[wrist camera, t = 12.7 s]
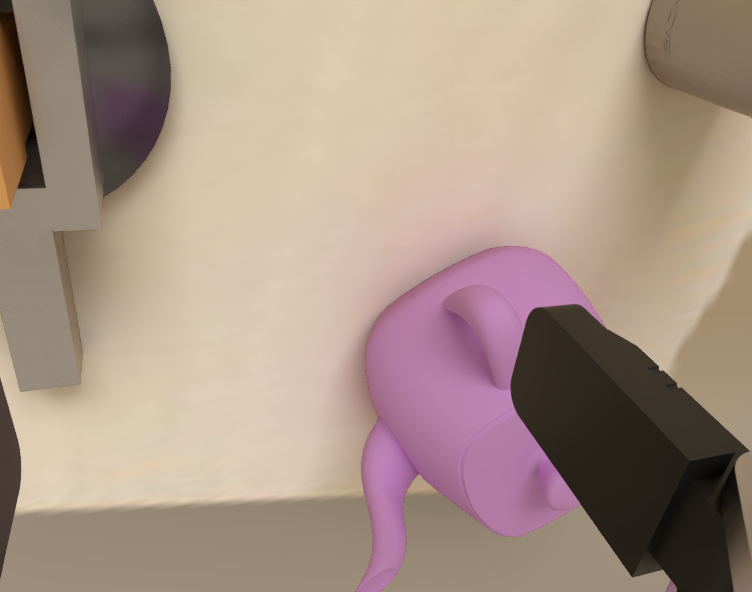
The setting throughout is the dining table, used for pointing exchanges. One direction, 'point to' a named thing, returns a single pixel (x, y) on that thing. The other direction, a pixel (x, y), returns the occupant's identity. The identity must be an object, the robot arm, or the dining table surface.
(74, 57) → the bracket
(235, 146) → the dining table surface
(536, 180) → the dining table surface
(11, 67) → the orange block
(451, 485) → the teapot
